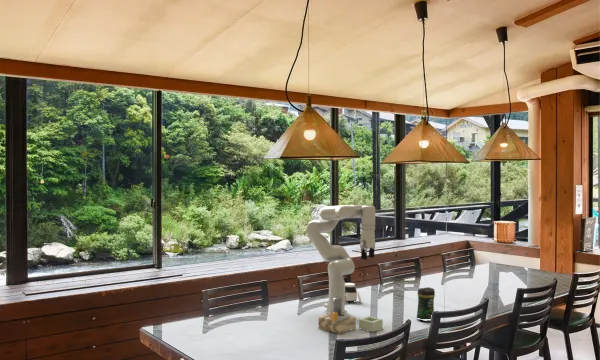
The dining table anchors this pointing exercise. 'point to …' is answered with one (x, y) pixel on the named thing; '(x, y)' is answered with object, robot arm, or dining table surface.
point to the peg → (337, 305)
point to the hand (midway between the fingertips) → (367, 258)
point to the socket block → (336, 324)
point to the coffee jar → (425, 303)
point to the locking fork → (338, 316)
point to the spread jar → (351, 293)
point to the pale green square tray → (370, 323)
